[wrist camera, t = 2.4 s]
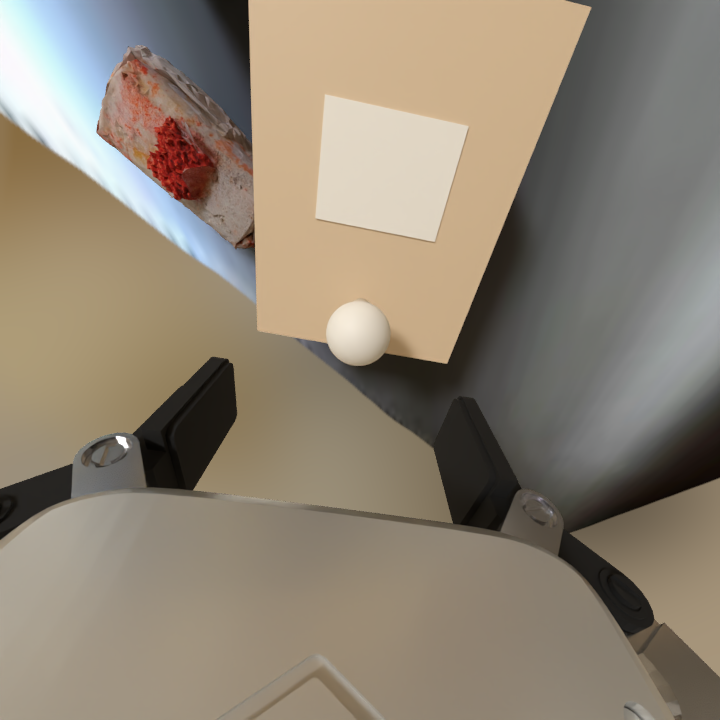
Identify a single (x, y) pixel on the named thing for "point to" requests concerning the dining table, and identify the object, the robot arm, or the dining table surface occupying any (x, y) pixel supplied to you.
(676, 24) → the dining table surface
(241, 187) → the food item
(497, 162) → the carton lid
